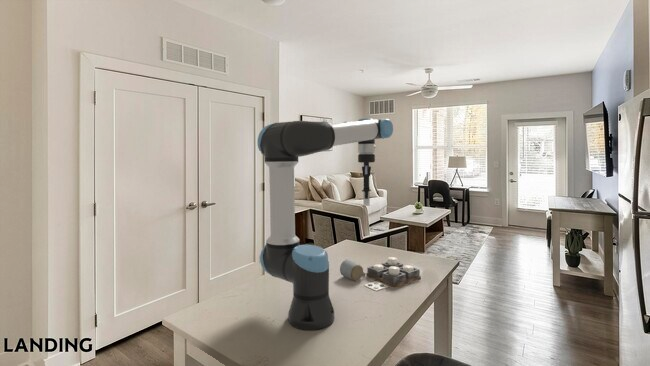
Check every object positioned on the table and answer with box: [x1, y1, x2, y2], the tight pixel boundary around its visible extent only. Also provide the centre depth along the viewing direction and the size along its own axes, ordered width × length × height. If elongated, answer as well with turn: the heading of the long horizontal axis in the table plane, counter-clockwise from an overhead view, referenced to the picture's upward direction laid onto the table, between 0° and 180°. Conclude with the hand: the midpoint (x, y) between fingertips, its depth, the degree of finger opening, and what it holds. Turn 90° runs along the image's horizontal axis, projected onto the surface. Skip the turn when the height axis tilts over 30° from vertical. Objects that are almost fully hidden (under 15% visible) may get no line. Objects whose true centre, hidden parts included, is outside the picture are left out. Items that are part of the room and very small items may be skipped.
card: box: [363, 280, 389, 292], centre depth 136 cm, size 7×7×1 cm
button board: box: [365, 261, 422, 289], centre depth 145 cm, size 16×17×4 cm
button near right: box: [389, 266, 400, 277], centre depth 139 cm, size 4×4×3 cm
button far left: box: [386, 256, 398, 266], centre depth 151 cm, size 4×4×3 cm
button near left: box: [372, 263, 384, 271], centre depth 146 cm, size 4×4×3 cm
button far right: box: [403, 264, 414, 272], centre depth 144 cm, size 4×4×3 cm
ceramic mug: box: [339, 258, 367, 282], centre depth 145 cm, size 11×8×8 cm
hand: (366, 205), depth 152 cm, fingers closed
